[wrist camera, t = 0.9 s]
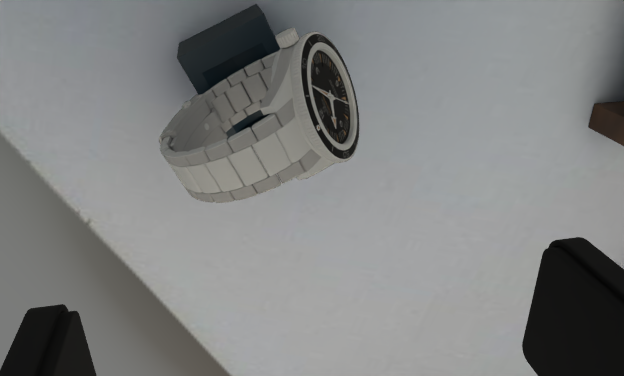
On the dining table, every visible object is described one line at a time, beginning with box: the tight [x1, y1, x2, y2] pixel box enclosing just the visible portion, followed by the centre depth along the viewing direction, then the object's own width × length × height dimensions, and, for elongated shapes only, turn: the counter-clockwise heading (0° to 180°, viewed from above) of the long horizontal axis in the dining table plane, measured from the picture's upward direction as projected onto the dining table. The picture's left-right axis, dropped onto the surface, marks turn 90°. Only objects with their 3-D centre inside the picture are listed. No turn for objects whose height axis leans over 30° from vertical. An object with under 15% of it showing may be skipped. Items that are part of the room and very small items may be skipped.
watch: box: [159, 4, 359, 203], centre depth 22 cm, size 6×8×11 cm
